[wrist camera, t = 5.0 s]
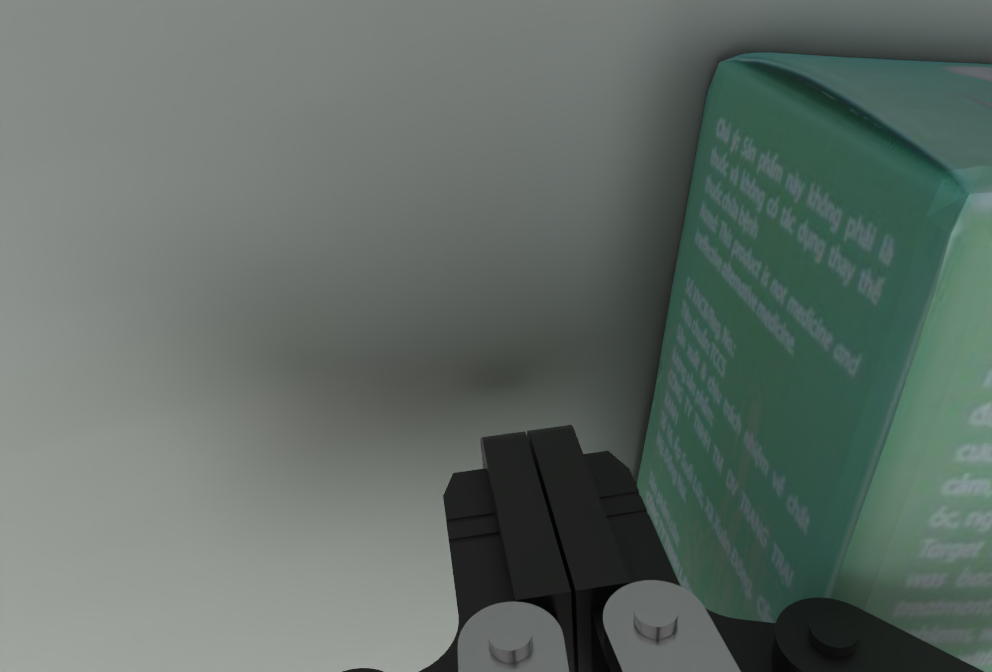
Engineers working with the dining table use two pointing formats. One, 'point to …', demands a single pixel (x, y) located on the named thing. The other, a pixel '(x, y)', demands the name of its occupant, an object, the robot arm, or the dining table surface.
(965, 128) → the box
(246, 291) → the dining table surface
